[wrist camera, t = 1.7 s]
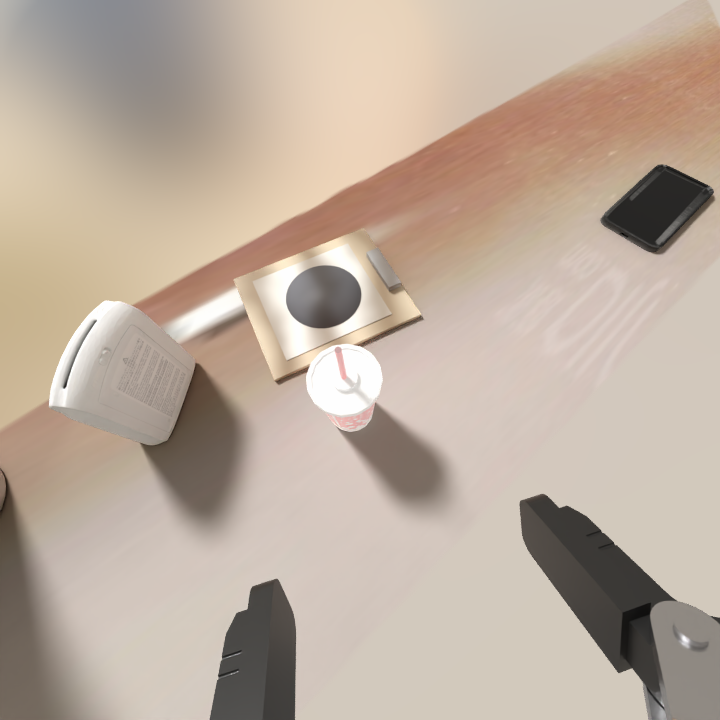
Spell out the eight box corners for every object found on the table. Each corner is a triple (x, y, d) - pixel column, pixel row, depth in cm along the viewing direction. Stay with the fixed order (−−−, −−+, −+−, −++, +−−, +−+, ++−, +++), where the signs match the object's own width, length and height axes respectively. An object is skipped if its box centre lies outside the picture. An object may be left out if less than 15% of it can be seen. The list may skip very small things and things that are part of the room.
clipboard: (275, 381, 37) (272, 377, 36) (235, 281, 43) (231, 275, 42) (420, 316, 40) (422, 310, 38) (363, 230, 45) (363, 223, 44)
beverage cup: (390, 396, 36) (399, 329, 23) (365, 449, 33) (359, 409, 21) (338, 373, 37) (319, 298, 24) (311, 423, 35) (274, 370, 22)
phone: (717, 189, 45) (658, 250, 41) (709, 196, 46) (651, 256, 42) (659, 161, 48) (599, 216, 44) (653, 169, 49) (594, 223, 45)
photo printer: (166, 352, 39) (81, 286, 28) (202, 356, 39) (131, 290, 27) (131, 443, 35) (14, 408, 23) (171, 448, 34) (72, 415, 23)
